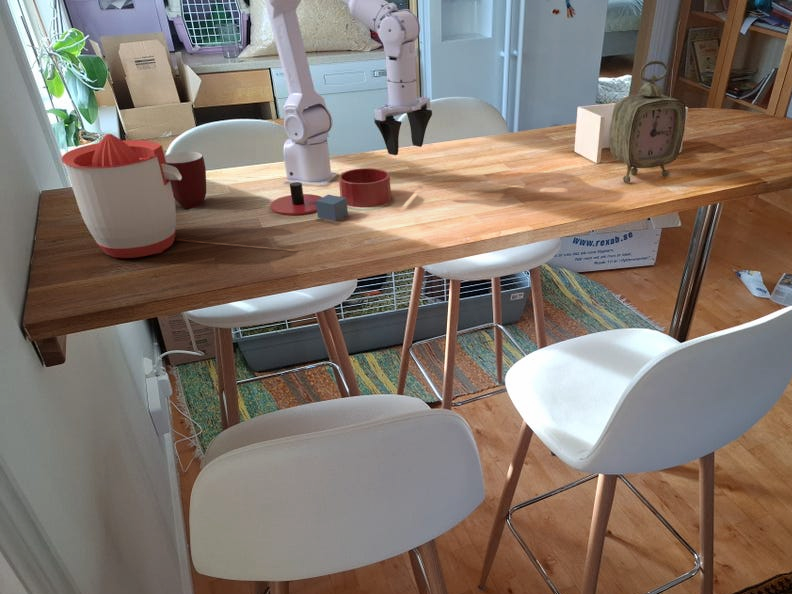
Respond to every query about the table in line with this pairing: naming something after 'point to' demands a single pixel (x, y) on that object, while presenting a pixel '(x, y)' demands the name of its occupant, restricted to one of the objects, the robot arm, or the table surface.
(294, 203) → the tin lid
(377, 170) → the tin
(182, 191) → the mug
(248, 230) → the table surface
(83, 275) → the table surface
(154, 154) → the citrus juicer
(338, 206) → the block
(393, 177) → the table surface
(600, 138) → the storage container
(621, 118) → the tabletop clock
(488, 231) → the table surface
